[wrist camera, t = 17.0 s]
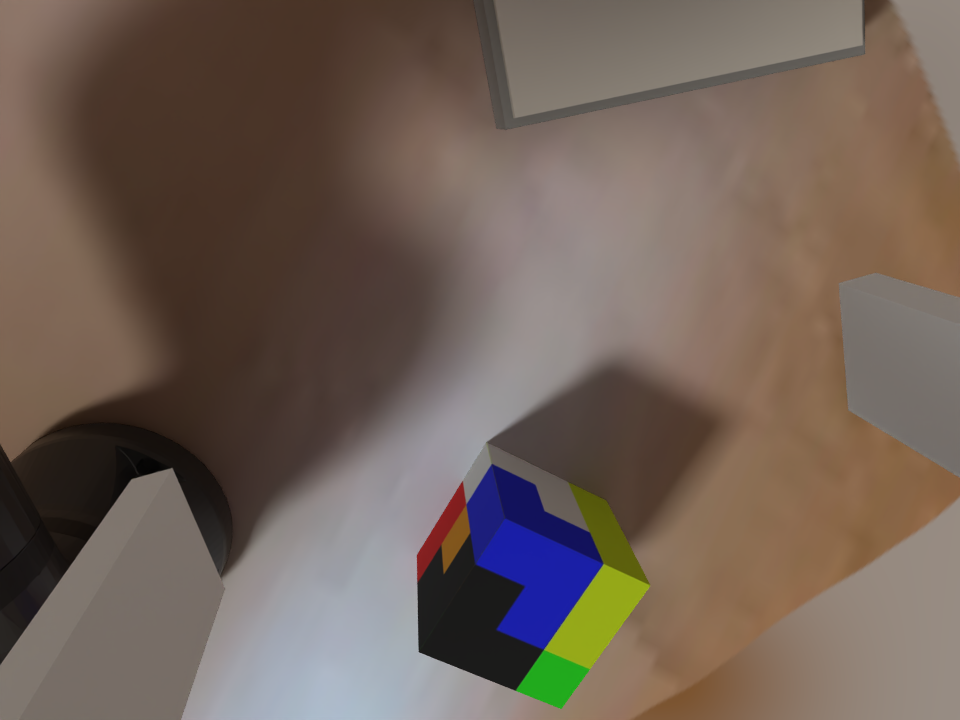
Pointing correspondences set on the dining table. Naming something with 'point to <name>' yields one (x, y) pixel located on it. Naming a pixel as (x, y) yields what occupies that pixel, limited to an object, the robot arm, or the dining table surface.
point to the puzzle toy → (524, 579)
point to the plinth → (648, 48)
